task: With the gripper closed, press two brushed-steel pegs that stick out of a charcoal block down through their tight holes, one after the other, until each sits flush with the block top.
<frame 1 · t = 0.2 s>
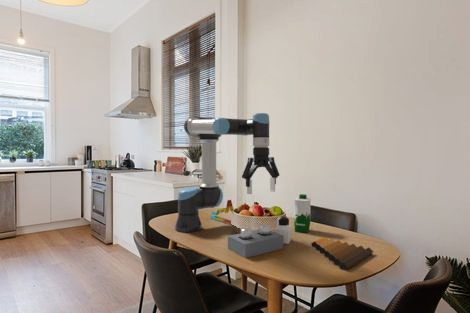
hand: (261, 192, 140), 26 cm above the table, tool pointing down, fingers open, 13 cm apart
steel peg 1: (264, 230, 143), point 8 cm above the table, slide at 0.0 cm
milk carton: (302, 230, 170), on the table
steel peg 2: (246, 234, 137), point 7 cm above the table, slide at 0.0 cm
medicine bottle: (282, 241, 151), on the table
peg block: (255, 248, 141), on the table
chart: (226, 223, 187), on the table
pan flute: (333, 256, 133), on the table
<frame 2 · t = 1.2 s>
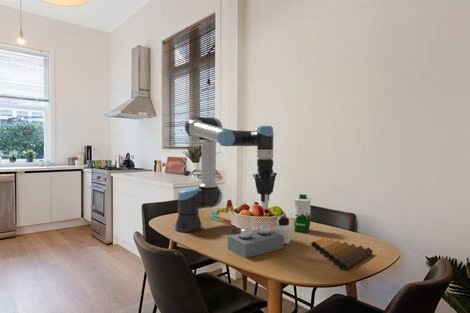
hand: (265, 208, 143), 18 cm above the table, tool pointing down, fingers closed
nothing on the table moved.
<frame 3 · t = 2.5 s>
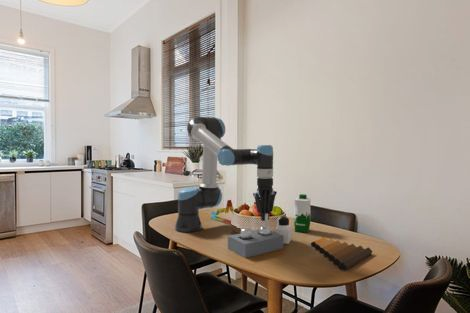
hand: (265, 226, 143), 9 cm above the table, tool pointing down, fingers closed
steel peg 1: (264, 232, 143), point 7 cm above the table, slide at 0.9 cm, touching gripper
everything else where it was.
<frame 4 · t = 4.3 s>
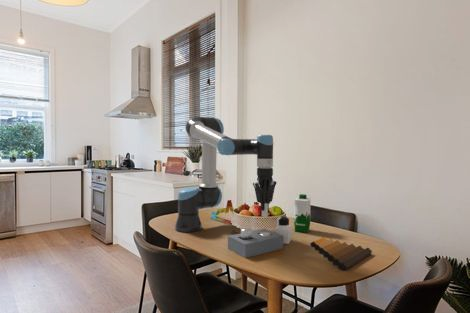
hand: (264, 216, 143), 14 cm above the table, tool pointing down, fingers closed
steel peg 1: (264, 238, 144), point 4 cm above the table, slide at 3.9 cm
everything else where it was.
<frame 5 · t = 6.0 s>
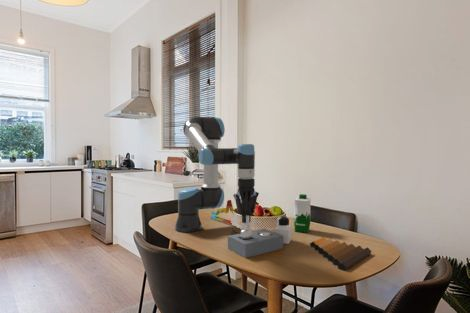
hand: (246, 229, 137), 10 cm above the table, tool pointing down, fingers closed
steel peg 2: (246, 235, 137), point 7 cm above the table, slide at 0.4 cm, touching gripper
everything else where it was.
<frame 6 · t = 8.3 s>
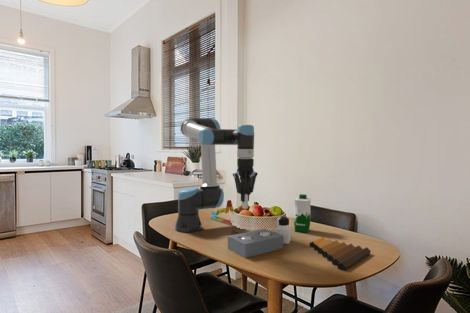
hand: (244, 208, 141), 19 cm above the table, tool pointing down, fingers closed
steel peg 2: (246, 243, 137), point 4 cm above the table, slide at 3.9 cm
everything else where it was.
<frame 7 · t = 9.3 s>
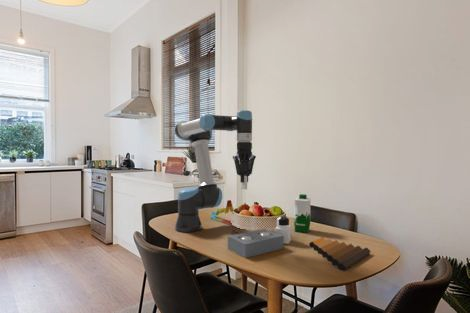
hand: (244, 188, 151), 26 cm above the table, tool pointing down, fingers closed
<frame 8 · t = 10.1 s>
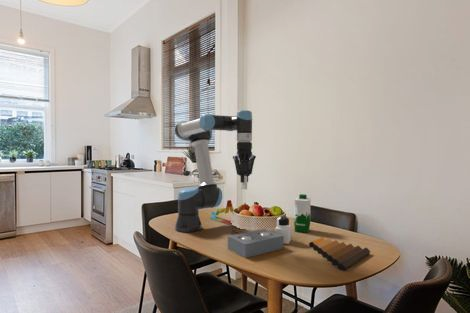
hand: (244, 188, 151), 26 cm above the table, tool pointing down, fingers closed
at the end: steel peg 1 slide at 3.9 cm; steel peg 2 slide at 3.9 cm; medicine bottle moved 0.2 cm from its start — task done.
